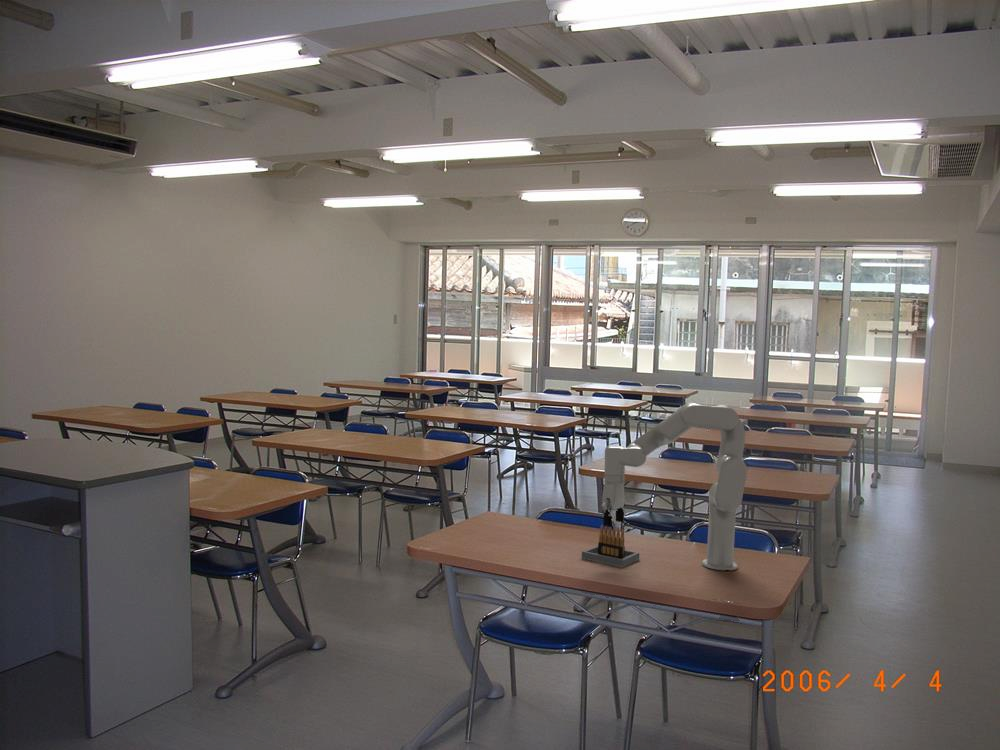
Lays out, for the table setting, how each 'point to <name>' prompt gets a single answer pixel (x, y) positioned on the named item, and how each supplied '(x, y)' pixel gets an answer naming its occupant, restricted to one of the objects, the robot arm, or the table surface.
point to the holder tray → (592, 555)
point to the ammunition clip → (611, 543)
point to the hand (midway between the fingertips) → (613, 523)
